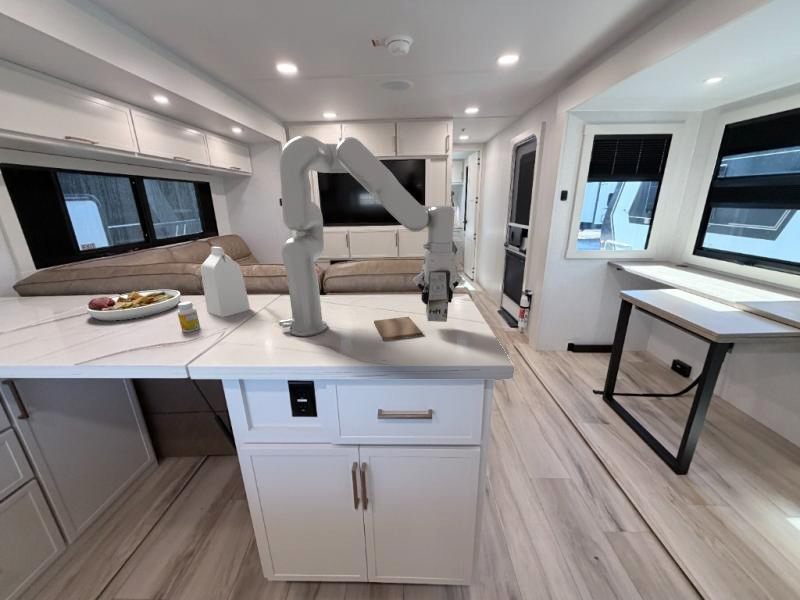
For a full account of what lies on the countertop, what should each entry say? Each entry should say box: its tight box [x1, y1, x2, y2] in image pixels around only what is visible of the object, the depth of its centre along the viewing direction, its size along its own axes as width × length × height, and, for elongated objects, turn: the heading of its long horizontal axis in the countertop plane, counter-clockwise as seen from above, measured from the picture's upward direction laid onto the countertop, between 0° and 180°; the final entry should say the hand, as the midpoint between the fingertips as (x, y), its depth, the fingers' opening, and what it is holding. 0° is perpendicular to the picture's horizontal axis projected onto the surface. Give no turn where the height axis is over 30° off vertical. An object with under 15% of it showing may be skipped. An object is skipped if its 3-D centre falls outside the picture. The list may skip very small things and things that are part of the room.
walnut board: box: [373, 316, 423, 342], centre depth 103 cm, size 13×15×1 cm
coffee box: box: [425, 271, 451, 323], centre depth 98 cm, size 9×6×16 cm
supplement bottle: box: [177, 300, 201, 333], centre depth 106 cm, size 5×5×10 cm
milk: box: [200, 246, 251, 318], centre depth 122 cm, size 12×12×26 cm
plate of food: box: [86, 289, 181, 322], centre depth 127 cm, size 30×30×8 cm
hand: (436, 301), depth 99 cm, fingers closed on coffee box, 7 cm apart
